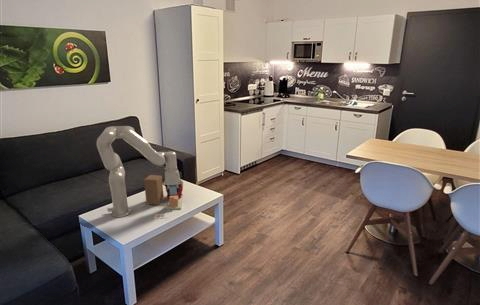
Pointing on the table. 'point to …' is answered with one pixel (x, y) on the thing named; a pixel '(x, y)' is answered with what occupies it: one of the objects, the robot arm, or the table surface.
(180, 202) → the build plate
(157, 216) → the page
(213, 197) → the table surface
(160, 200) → the wooden block
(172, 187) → the brick teal
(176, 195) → the plant pot
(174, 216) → the table surface
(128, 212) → the robot arm
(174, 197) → the brick terracotta
